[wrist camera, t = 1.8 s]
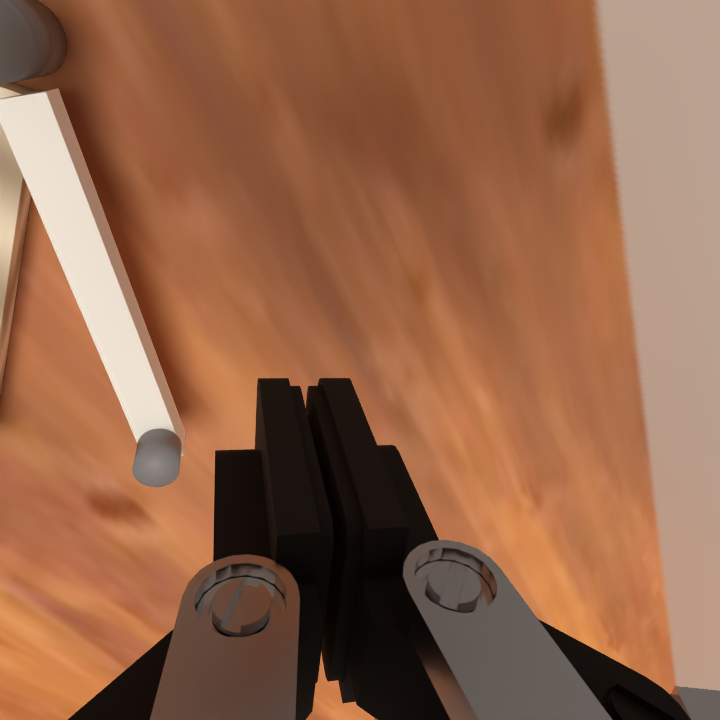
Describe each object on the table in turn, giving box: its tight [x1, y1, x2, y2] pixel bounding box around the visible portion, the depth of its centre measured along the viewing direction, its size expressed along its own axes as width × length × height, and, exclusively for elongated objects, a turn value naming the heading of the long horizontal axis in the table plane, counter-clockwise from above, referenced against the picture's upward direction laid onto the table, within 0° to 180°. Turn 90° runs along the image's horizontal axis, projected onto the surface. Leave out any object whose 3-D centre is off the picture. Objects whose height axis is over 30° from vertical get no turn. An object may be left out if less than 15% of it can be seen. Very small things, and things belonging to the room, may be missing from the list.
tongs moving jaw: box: [0, 89, 186, 487], centre depth 26 cm, size 18×2×4 cm, turn 9°
